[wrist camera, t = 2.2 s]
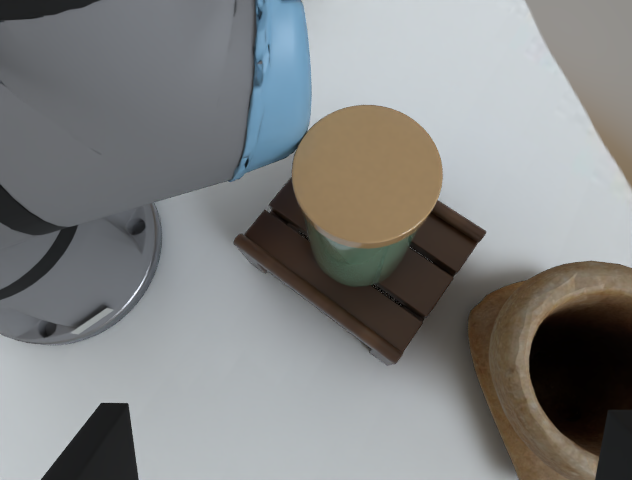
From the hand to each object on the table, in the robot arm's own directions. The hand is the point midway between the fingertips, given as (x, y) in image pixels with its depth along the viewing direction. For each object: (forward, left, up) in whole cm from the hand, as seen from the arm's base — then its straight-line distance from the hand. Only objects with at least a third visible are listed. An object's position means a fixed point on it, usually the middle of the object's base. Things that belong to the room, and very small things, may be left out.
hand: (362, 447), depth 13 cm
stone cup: (+10, +9, -21) cm, 25 cm away
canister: (-6, +9, -16) cm, 19 cm away
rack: (-6, +9, -21) cm, 24 cm away
